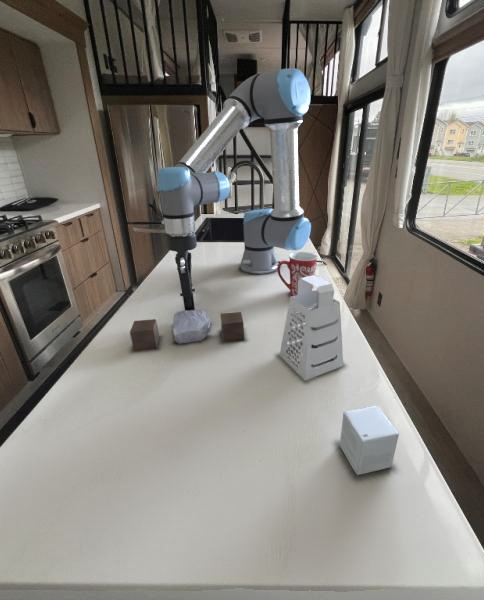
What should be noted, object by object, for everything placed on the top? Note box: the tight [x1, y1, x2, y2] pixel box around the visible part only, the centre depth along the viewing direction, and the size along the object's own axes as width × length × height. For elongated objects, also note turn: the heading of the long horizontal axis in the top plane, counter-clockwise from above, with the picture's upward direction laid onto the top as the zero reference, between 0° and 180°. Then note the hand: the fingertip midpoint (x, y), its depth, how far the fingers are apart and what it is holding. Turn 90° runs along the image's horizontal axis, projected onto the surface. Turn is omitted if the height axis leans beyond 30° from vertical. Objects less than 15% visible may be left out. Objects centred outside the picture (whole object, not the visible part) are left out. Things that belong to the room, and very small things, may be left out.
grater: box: [279, 274, 344, 381], centre depth 71 cm, size 10×10×20 cm
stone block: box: [172, 309, 212, 345], centre depth 87 cm, size 12×5×10 cm
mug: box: [276, 251, 319, 297], centre depth 105 cm, size 13×9×14 cm
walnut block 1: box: [129, 318, 160, 352], centre depth 82 cm, size 6×6×6 cm
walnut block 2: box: [220, 311, 245, 343], centre depth 84 cm, size 6×6×6 cm
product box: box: [339, 405, 400, 476], centre depth 50 cm, size 6×6×7 cm
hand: (190, 314), depth 92 cm, fingers closed
